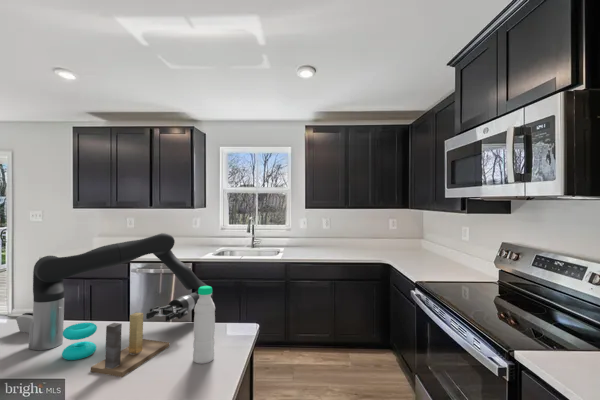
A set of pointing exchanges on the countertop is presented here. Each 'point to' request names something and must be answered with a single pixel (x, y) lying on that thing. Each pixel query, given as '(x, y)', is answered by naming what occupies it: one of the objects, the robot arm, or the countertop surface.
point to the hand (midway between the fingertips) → (156, 317)
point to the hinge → (25, 321)
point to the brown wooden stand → (125, 353)
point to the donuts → (79, 348)
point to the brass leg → (136, 333)
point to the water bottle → (204, 326)
